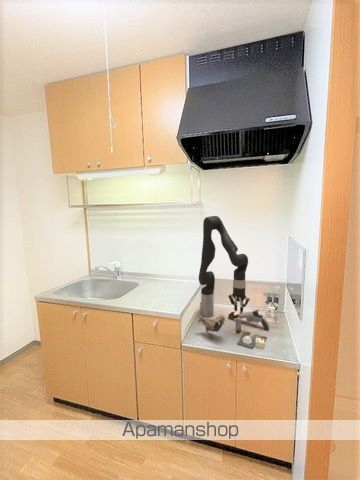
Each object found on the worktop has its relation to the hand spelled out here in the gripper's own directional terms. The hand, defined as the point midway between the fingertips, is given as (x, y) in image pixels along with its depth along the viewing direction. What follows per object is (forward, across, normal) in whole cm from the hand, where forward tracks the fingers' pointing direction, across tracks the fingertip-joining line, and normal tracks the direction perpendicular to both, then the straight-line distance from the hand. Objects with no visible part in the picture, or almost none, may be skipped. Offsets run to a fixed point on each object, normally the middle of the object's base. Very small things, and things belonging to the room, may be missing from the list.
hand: (238, 311), depth 153 cm
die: (+15, +16, -8) cm, 23 cm away
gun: (+16, +2, +13) cm, 20 cm away
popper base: (+15, +9, -9) cm, 19 cm away
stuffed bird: (+15, -12, -14) cm, 24 cm away
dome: (+15, +9, -9) cm, 19 cm away
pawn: (+14, 0, 0) cm, 14 cm away
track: (+15, +8, 0) cm, 17 cm away
